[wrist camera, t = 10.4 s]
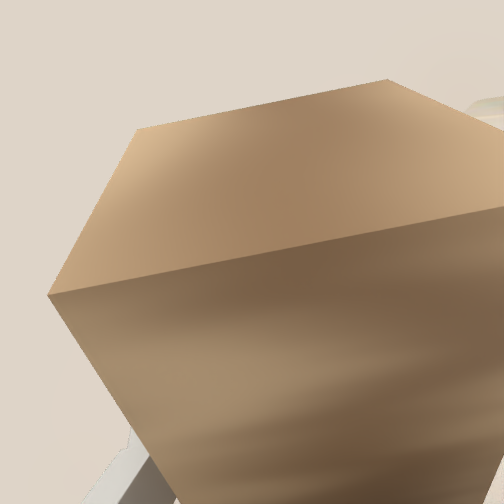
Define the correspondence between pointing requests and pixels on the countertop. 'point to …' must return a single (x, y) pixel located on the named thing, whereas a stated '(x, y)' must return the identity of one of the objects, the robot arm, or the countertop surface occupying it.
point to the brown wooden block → (304, 300)
